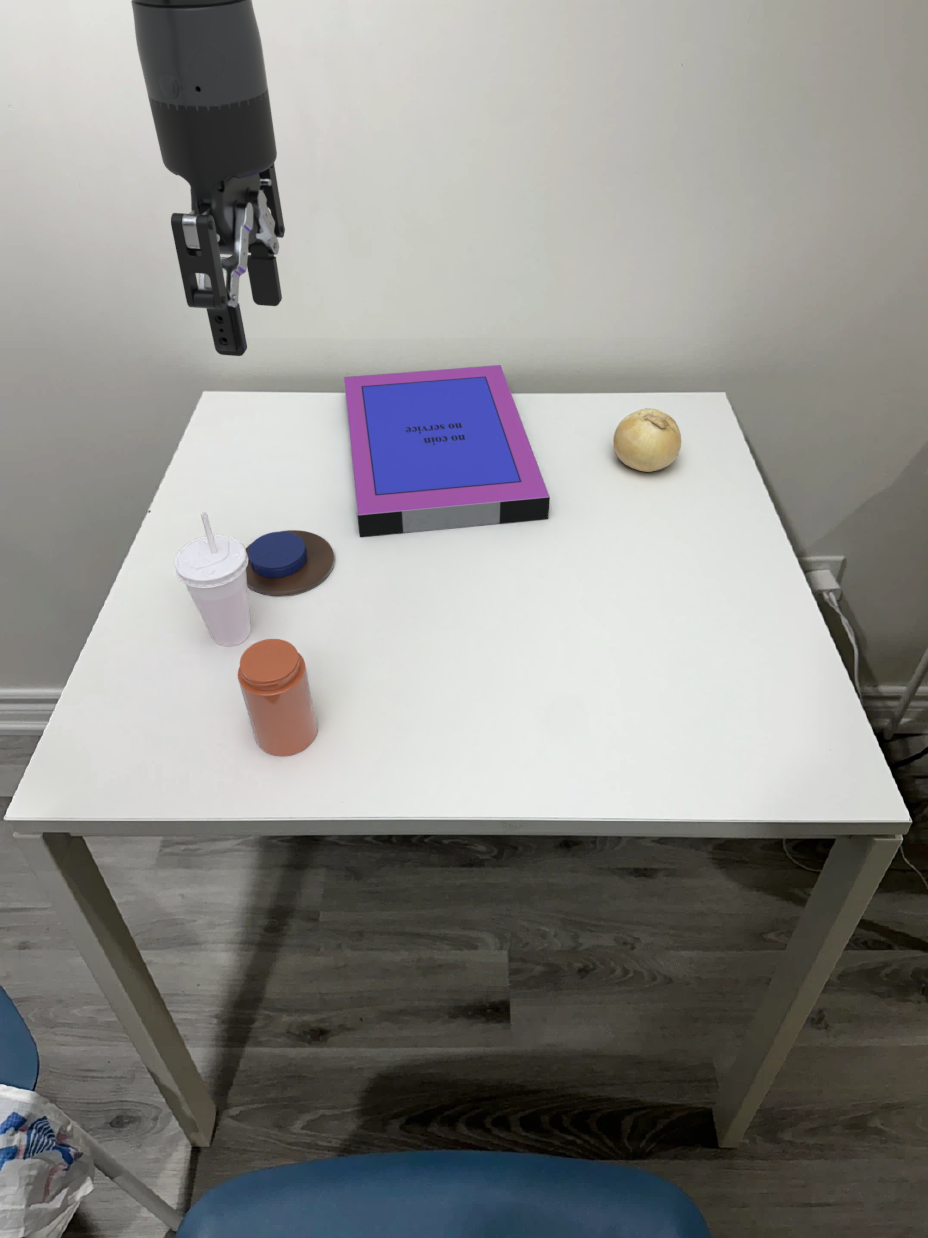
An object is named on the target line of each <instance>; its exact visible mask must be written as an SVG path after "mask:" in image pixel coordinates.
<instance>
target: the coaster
mask: <svg viewBox="0 0 928 1238" xmlns="http://www.w3.org/2000/svg"><path fill="white" fill-rule="evenodd" d="M279 532H290V533H293V534H296V535H297V536H299V537H300V538H301V539H302V540H303V541H304V544H305V547H306V550H307V554H306V555H307V558H306V560H307V561H306V562H305V564H304V565H303V567H302V568H301V569H300V570H298V571H297V572H295V573H293V574H291V575H288V576H285V577H280V578H269V577H264V576H260V575H259V574H257V573H256V572H255V571H253V569H252V567H251V564H250V563H249V559H248V565H247V567H246V578H247V588H249V589H250V590H252V591H253V592H256V593H259V594H261V595H264V596H270V597H287V596H294V595H300V594H302V593H305V592H308V591H310V590H312V589H314V588H316V587H318V586H319V585H321V584H322V583H323V582H324V581H325V580H326V579H327V578H328V577H329V576H330V574H331V573H332V571H333V569H334V566H335V552H334V550H333V547H332V546H331V544H330V543H329V542H328V540H326V539H325V538H324V537H322V536H321V535H318V534H316V533H313V532H310V531H306V530H299V529H298V530H297V529H289V530H280V531H279ZM252 543H253V542H251V543H250V544H249V545H247V546H246V547H245V549H246V553H247V556H248V557H249V555H248V550H249V547H250V545H251V544H252Z"/></svg>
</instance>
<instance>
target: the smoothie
mask: <svg viewBox="0 0 928 1238" xmlns="http://www.w3.org/2000/svg"><path fill="white" fill-rule="evenodd" d="M200 518H201V522H202V525H203V529H204V532H205V535H204V536H200V537H198V538H195V539H193V540H191V541H189V542H187V543H186V544H185V545H184V546H182V547H181V548H180V549H179V550H178V551H177V553H176V555H175V557H174V560H173V564H174V569H175V575H176V576H177V578H178V579H179V581H180V582H181V583H183V584H185V585H184V586H185V587H186V589H187V591H188V593H189V594H190V597H191V598H192V600H193V602H194V604H195V606H196V608H197V610H198V612H199V614H200V616H201V618H202V621H203V623H204V625H205V626H206V629H207V631H208V632H209V634H210V636H211V638H212V640H213V642H214V643H215V644H217V645H219V646H221V647H222V646H223V647H233V646H237V645H240V644H242V643H243V642H245V641H246V640H248V638H249V637H250V635H251V631H252V627H251V615H250V603H249V591H248V587H247V578H246V567H247V565H248V556H247V553H246V546H245V545H244V543H242V541H240V540H239V539H238V538H236V537H233V536H230V535H224V534H214V533H213V530H212V527H211V523H210V519H209V516H208V513H207V512H206V511H204V512H201V513H200Z"/></svg>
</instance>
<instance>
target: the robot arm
mask: <svg viewBox="0 0 928 1238" xmlns="http://www.w3.org/2000/svg"><path fill="white" fill-rule="evenodd" d="M130 3H131V7H132V8H131V9H132V14H133V21H134V23H133V24H134V33H135V41H136V47H137V53H138V57H139V62H140V66H141V70H142V76H143V80H144V84H145V88H146V93H147V98H148V102H149V106H150V110H151V111H150V112H151V117H152V119H153V123H154V128H155V133H156V138H157V142H158V146H159V147H158V148H159V151H160V155H161V159H162V164H163V166H164V167H165V168H166V169H167V170H168V171H169V172H170V173H172V174H173V175H175V176H179V177H181V178H182V179H183V180H185V182H187V183H188V185H189V186H190V190H189V191H190V208H191V209H190V210H191V211H190V212H189V213H186V212H185V213H183V212H173V213H172V214H171V216H170V226H171V227H170V228H171V231H172V236H173V242H174V247H175V251H176V256H177V261H178V266H179V272H180V276H181V282H182V286H183V291H184V296H185V301H186V305H187V306H188V307H189V308H195V309H206V314H207V317H208V322H209V326H210V332H211V336H212V342H213V345H214V346H213V347H214V350H215V352H216V353H217V354H219V355H220V356H221V355H222V356H233V357H242V356H244V354H245V353H246V351H247V350H248V343H247V338H246V334H245V327H244V322H243V317H242V312H241V311H242V310H241V306H240V303H239V293H240V292H239V291H240V278H241V276H242V275H244V274H245V273H246V272H247V274H248V279H249V286H250V291H251V296H252V301H253V303H255V305H257V306H265V307H266V306H267V307H277V306H279V305H280V303H281V302H282V301H283V300H282V299H283V295H282V288H281V282H280V275H279V267H278V262H277V256H278V254H279V250H280V243H279V239H278V238H280V239H283V238H284V237H285V231H286V228H285V227H286V226H285V223H284V216H283V211H282V203H281V197H280V192H279V185H278V178H277V174H276V172H277V171H276V167H275V162H276V160H277V156H278V152H277V145H276V136H275V130H274V122H273V115H272V108H271V101H270V99H271V98H270V93H269V92H270V91H269V86H268V78H267V71H266V65H265V57H264V50H263V42H262V37H261V33H260V28H259V25H258V21H257V18H256V13H255V9H254V5H253V0H130ZM221 255H227V257H225V256H221ZM275 255H277V256H275ZM197 274H198V279H197ZM224 274H226V275H225V276H226V277H225V276H224Z"/></svg>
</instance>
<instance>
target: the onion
mask: <svg viewBox="0 0 928 1238" xmlns="http://www.w3.org/2000/svg"><path fill="white" fill-rule="evenodd" d="M681 434H682V433H681V430H680V428H679V426H678V423H677V422H676V420H675V419H674V418H673V417H672V416H671V415H669V414H667V413H666V412H664V411H662V410H659V409H657V408H651V407H650V408H643V409H640V410H636V411H634V412H632V413H630V414H628V415H627V416H625V417H624V418H623V419H622V420H621V421H619V423H618V424H617V426H616V428H615V430H614V434H613V440H612V441H613V451H614V453H615V455H616V456H617V458H618V459H619V461H621V462H622V463H623V464H624V465H625V466H626V467H629V468H631V469H633V470H636V471H639V472H646V473H650V472H651V473H652V472H656V471H660V470H662V469H664V468H667V467H669V466H670V465H671V464H672V463H673V462H674V461H675V460H676V458H677V457H678V456H679V454H680V451H681V447H682V435H681Z"/></svg>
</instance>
